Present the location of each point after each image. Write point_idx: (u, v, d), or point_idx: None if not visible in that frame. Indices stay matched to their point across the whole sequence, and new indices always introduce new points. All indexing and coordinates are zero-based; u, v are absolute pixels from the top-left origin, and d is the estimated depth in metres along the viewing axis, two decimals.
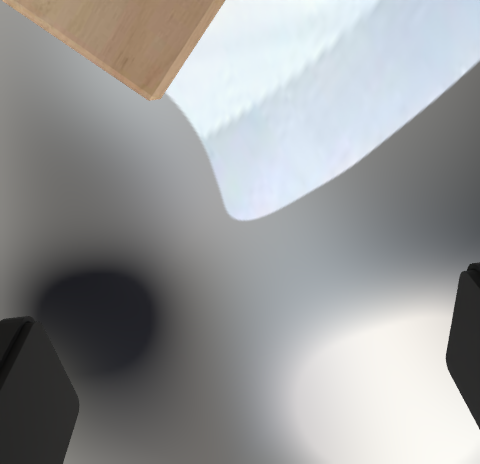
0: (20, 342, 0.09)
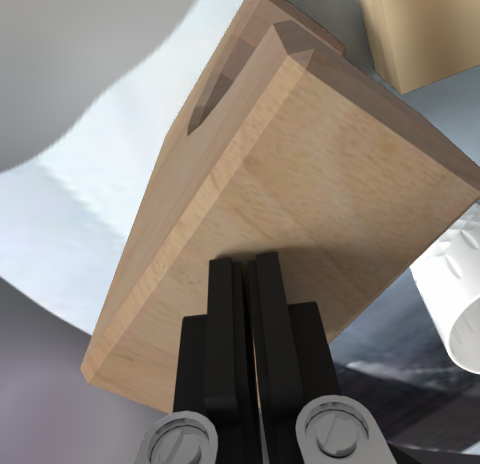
0: (237, 277, 0.10)
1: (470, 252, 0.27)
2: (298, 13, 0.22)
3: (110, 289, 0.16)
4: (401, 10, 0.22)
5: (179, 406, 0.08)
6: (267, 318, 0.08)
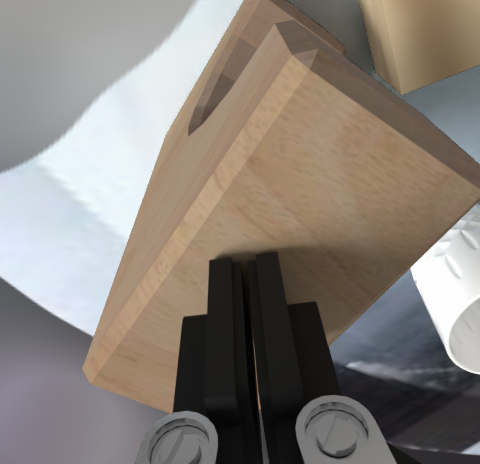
0: (237, 277, 0.10)
1: (470, 252, 0.27)
2: (298, 13, 0.22)
3: (111, 289, 0.16)
4: (401, 10, 0.22)
5: (179, 406, 0.08)
6: (267, 318, 0.08)
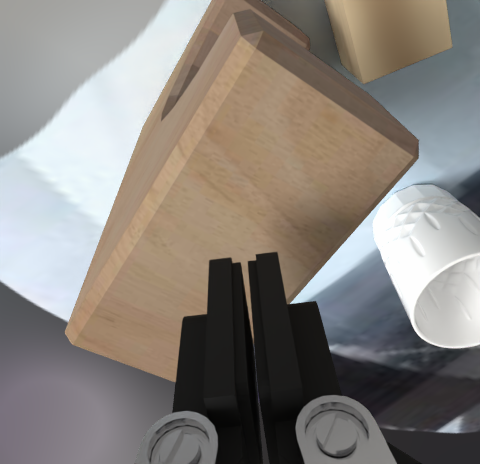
0: (237, 277, 0.10)
1: (432, 232, 0.29)
2: (264, 7, 0.23)
3: (91, 264, 0.17)
4: (359, 4, 0.23)
5: (179, 406, 0.08)
6: (267, 318, 0.08)
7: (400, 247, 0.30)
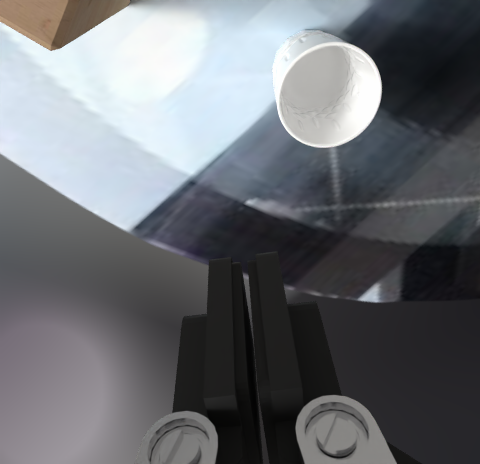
0: (237, 277, 0.10)
1: (299, 45, 0.35)
2: None
3: None
4: None
5: (179, 406, 0.08)
6: (267, 318, 0.08)
7: (278, 65, 0.36)
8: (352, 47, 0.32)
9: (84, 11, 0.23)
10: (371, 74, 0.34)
